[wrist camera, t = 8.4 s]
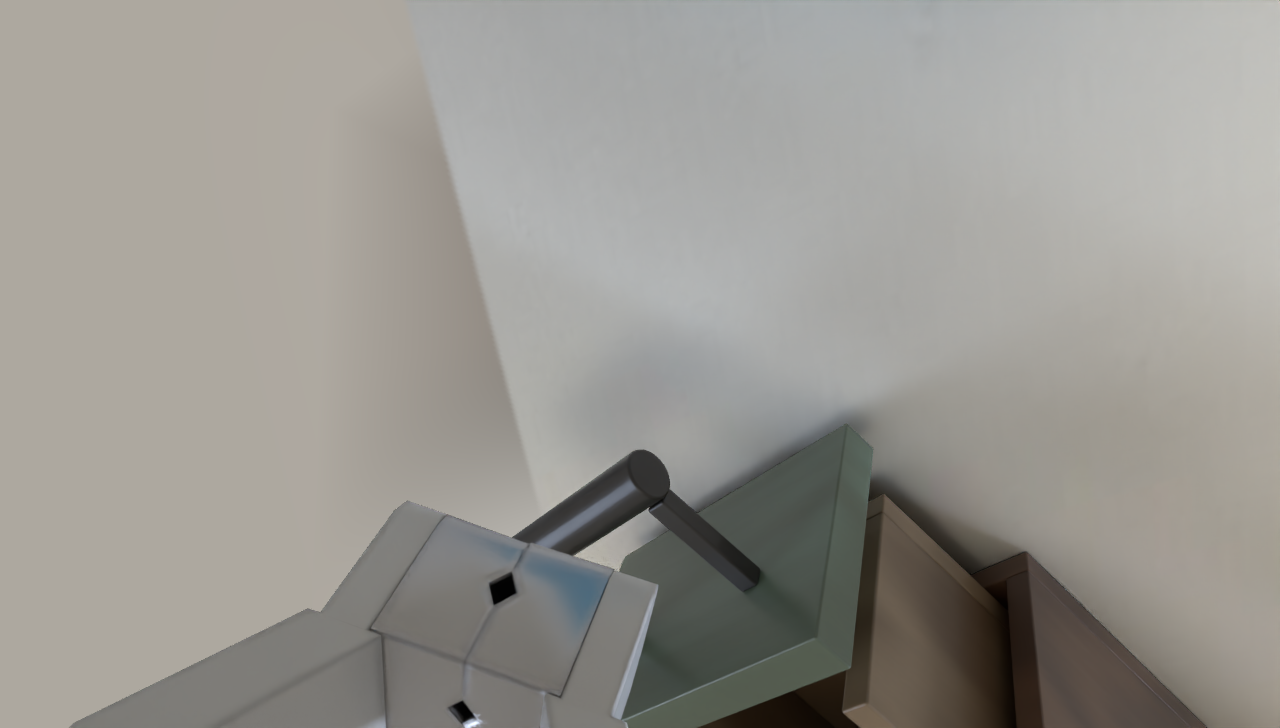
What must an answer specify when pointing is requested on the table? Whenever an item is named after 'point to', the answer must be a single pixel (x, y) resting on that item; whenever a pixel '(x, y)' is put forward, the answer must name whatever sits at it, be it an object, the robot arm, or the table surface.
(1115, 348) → the table surface
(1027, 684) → the cabinet
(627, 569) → the green drawer
